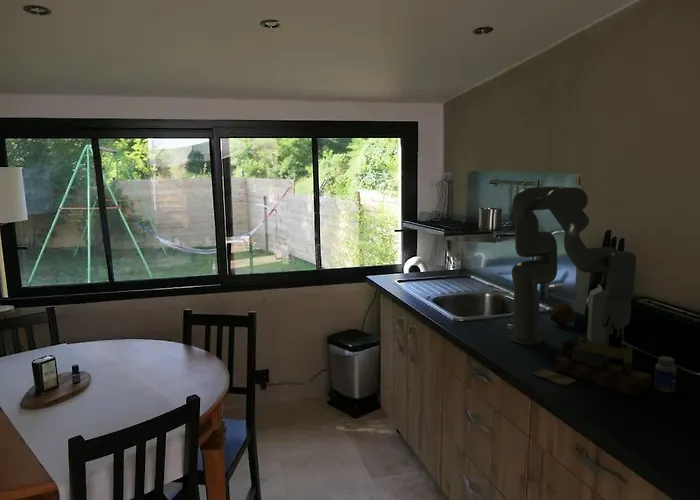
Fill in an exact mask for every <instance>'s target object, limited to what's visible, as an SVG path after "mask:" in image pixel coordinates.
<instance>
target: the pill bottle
mask: <svg viewBox="0 0 700 500" xmlns="http://www.w3.org/2000/svg"><path fill="white" fill-rule="evenodd" d="M657 361H658V362H657V363H656V364H655V370H654V385H653V386H654V388H655V390H658V391H659V392H662V393H673V392H675V391H676V383H677V382H676V381H677V372H678V371H677V369H678V368H677V367H676V366H675V359H674V357H670V356H666V355H665V356H664V355H661V356H659V357H658V360H657Z"/></svg>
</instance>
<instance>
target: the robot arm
mask: <svg viewBox="0 0 700 500" xmlns="http://www.w3.org/2000/svg"><path fill="white" fill-rule="evenodd" d="M588 199H589V198H588V195H587V193H586V192H585V190H583V189H582V188H580V187H577V186H576V187H575V186H574V187H572V186H571V187H569V186H568V187H567V186H536V187H534V186H532V187H526V188H523V189H520V190H519V191H518V192H516V193H515V195H514V197H513V199H512V204H511V205H512V206H511V207H512V213H513V218H514V238H515V240H514V243H515V246H514V247H515V251H516V254H517V256H519V257H520V258H535V257H537V259H530V260H523V261H519V262H517V263H516V264H514V265H513V266H512V269H511V278H512V279H511V280H512V285H513V316H512V317H513V318H512V319H513V320H512V323H513V324H511V323H508V324H506V327H505V330H506V331H508V332H510V334H509V335H508V339H509V340H510V341H511V342H512V343H515V344H520V345H528V346H533V345H540V344H541V343H542V342H543V339H544V338H543V337H542V335H540V334H539V333H540V332H539V331H540V328H539V327H540V326H539V325H540V304H541V302H540V301H541V299H540V293H539V291H538V290H537V287H536V285H541V284H547V283H552V282H553V281H554V280H555V279H556V278H557V275H558V242H557V239H556V237H555V236H554V235H553V234H552V233H551V232H549V231H539V224H540V223H539V219H538V217H537V215H536V213H535V212H534V211H546V210H549V211H550V213H551V214H552V215H553V217H554V218H555V220H556V221H557V222H558V224H559V225H560V227H561V229H563V231H564V236H563V246H564V251H565V253H566V255H567V256H568V258H569V259H570V261H571V262H572V263H573V265H574V266H575V268H577V269H578V270H579V271H580V272H583V273H594V272H596V273H597V272H605V271H606V278H605V280H606V283H605V291H606V292H605V295H606V298H605V302H604V307H603V314H602V322H601V326H602V327H606V326H608V327H607V333H609V344H610V345H615V346H620V347H621V344H622V337H621V336H622V335H623V329H624V330H625V327H626V326H628V325H629V324H630V321H631V315H632V314H631V313H632V299H633V298H634V291H635V290H634V288H635V279H636V267H637V256H636V254H635V253H634V252H630V251H622V250H619V249H617V248H614V247H612V246H601V247H591V248H590V247H589V248H587V246H586V245H585V244H584V242H583V240H582V239H581V237H580V233H581V232H583V231H584V230H586V228H587V227H588V225H589V223H590V219H589V216H588V215H587V214H586V213H585V211H584V209H585V208H586V207H587V206H588V202H589V200H588Z"/></svg>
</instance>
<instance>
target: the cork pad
mask: <svg viewBox="0 0 700 500" xmlns="http://www.w3.org/2000/svg"><path fill="white" fill-rule="evenodd" d="M531 375H532V376H534V377H537V378H540V379H543V380H546V381H549V382H551V383H554V384H557V385H559V386H562V387H564V388H567V387H569V386H571V385H573V384H575V383H577V379H576V378H571V377H569V376H566V375H563V374H560V373H558V372H555V371H552V370H549V369H546V368H541V369H540V368H539V369H537V370H535V371H533V372H531Z"/></svg>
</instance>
